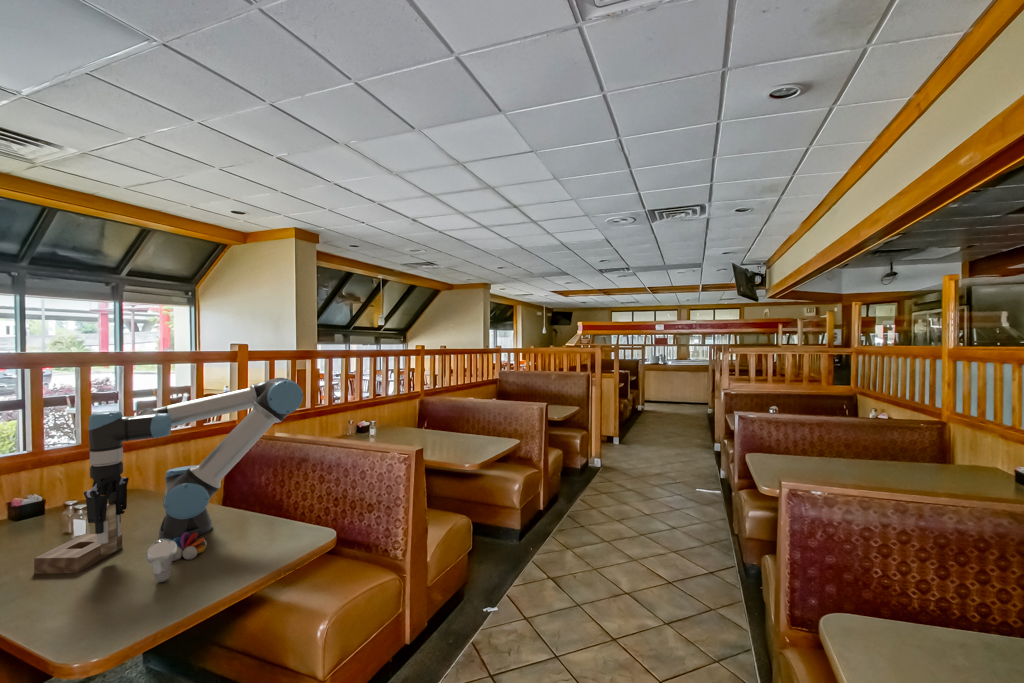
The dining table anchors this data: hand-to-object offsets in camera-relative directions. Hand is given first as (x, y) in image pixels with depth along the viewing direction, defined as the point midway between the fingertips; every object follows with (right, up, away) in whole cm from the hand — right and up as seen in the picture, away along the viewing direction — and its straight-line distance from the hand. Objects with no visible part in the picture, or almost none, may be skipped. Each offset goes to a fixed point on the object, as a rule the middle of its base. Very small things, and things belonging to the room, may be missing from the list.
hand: (108, 539), depth 137 cm
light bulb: (+24, -8, -10) cm, 27 cm away
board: (-11, -7, +2) cm, 13 cm away
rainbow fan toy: (+20, -8, +6) cm, 22 cm away
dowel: (0, -4, 0) cm, 4 cm away
